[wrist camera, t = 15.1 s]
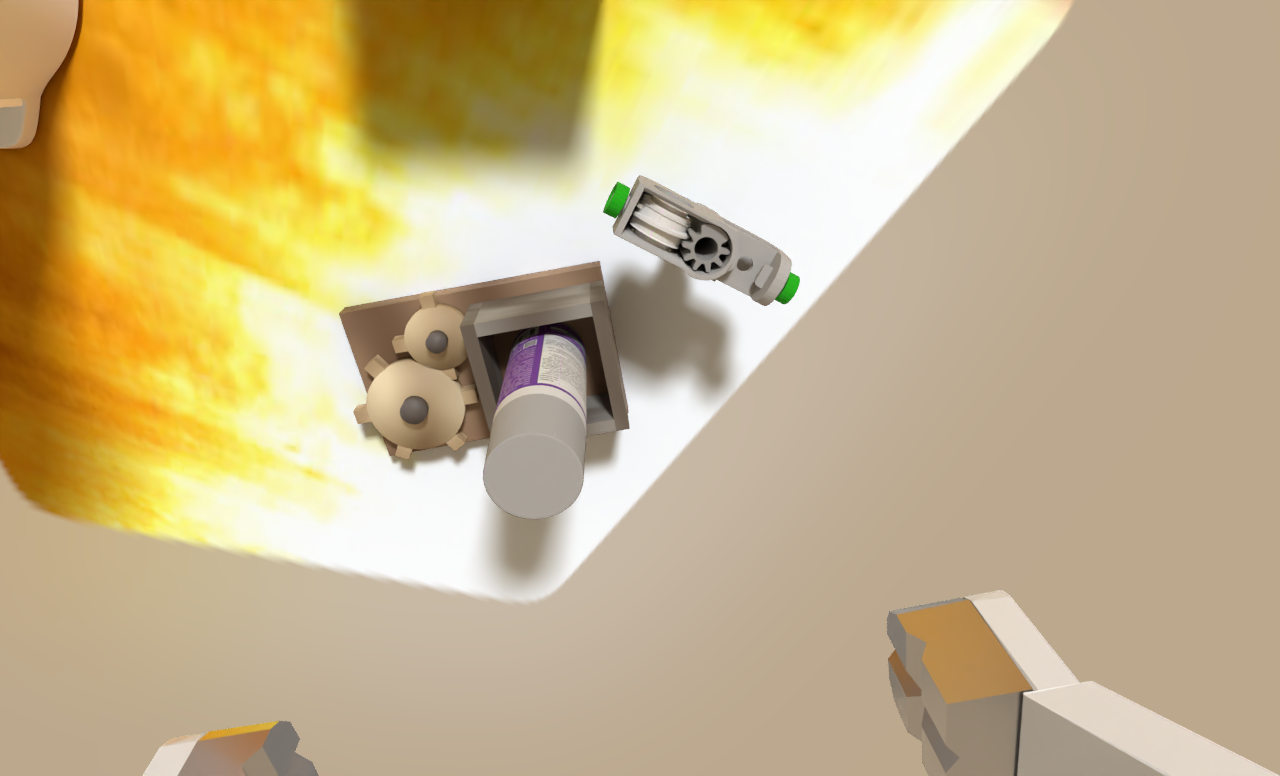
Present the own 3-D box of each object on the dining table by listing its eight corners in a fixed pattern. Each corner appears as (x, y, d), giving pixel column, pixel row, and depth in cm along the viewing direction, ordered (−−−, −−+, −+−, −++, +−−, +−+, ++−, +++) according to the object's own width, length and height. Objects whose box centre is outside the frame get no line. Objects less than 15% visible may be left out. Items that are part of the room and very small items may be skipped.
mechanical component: (741, 269, 46) (779, 321, 37) (595, 193, 43) (597, 229, 34) (766, 227, 45) (811, 269, 36) (617, 147, 42) (625, 171, 33)
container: (519, 392, 47) (492, 528, 33) (504, 324, 45) (469, 439, 31) (591, 381, 47) (594, 513, 33) (579, 313, 45) (576, 423, 31)
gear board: (382, 450, 49) (360, 491, 45) (329, 304, 45) (299, 333, 40) (627, 405, 49) (632, 442, 45) (598, 255, 45) (599, 278, 40)
